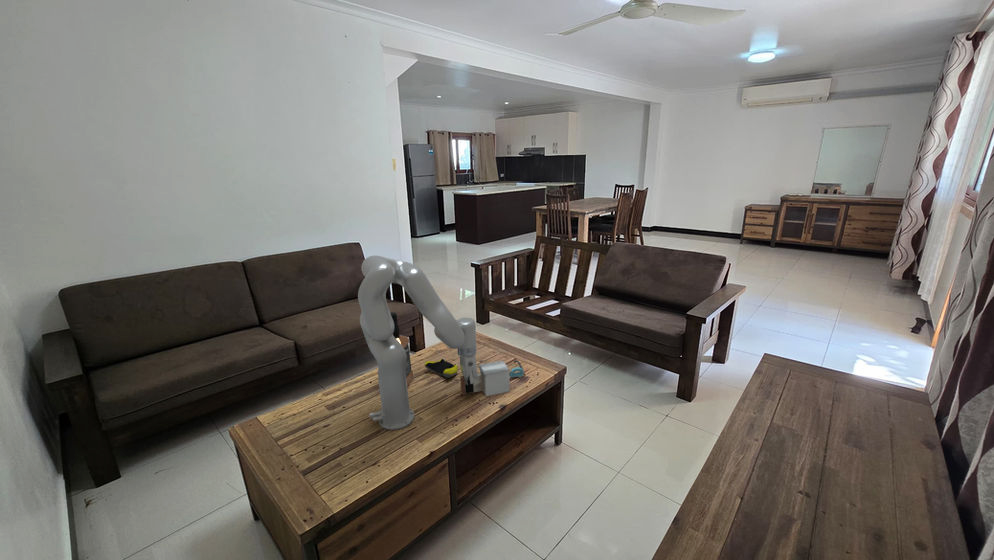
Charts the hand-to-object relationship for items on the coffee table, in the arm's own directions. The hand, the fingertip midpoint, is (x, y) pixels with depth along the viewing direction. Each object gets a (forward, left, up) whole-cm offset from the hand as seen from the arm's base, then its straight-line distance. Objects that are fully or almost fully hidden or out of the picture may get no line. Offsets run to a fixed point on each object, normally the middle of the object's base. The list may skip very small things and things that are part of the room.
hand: (468, 390), depth 161 cm
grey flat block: (+6, 0, -1) cm, 6 cm away
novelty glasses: (+20, +12, -2) cm, 23 cm away
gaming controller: (-7, +20, -2) cm, 21 cm away
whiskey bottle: (-26, +18, -2) cm, 32 cm away
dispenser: (+11, 0, -2) cm, 11 cm away
